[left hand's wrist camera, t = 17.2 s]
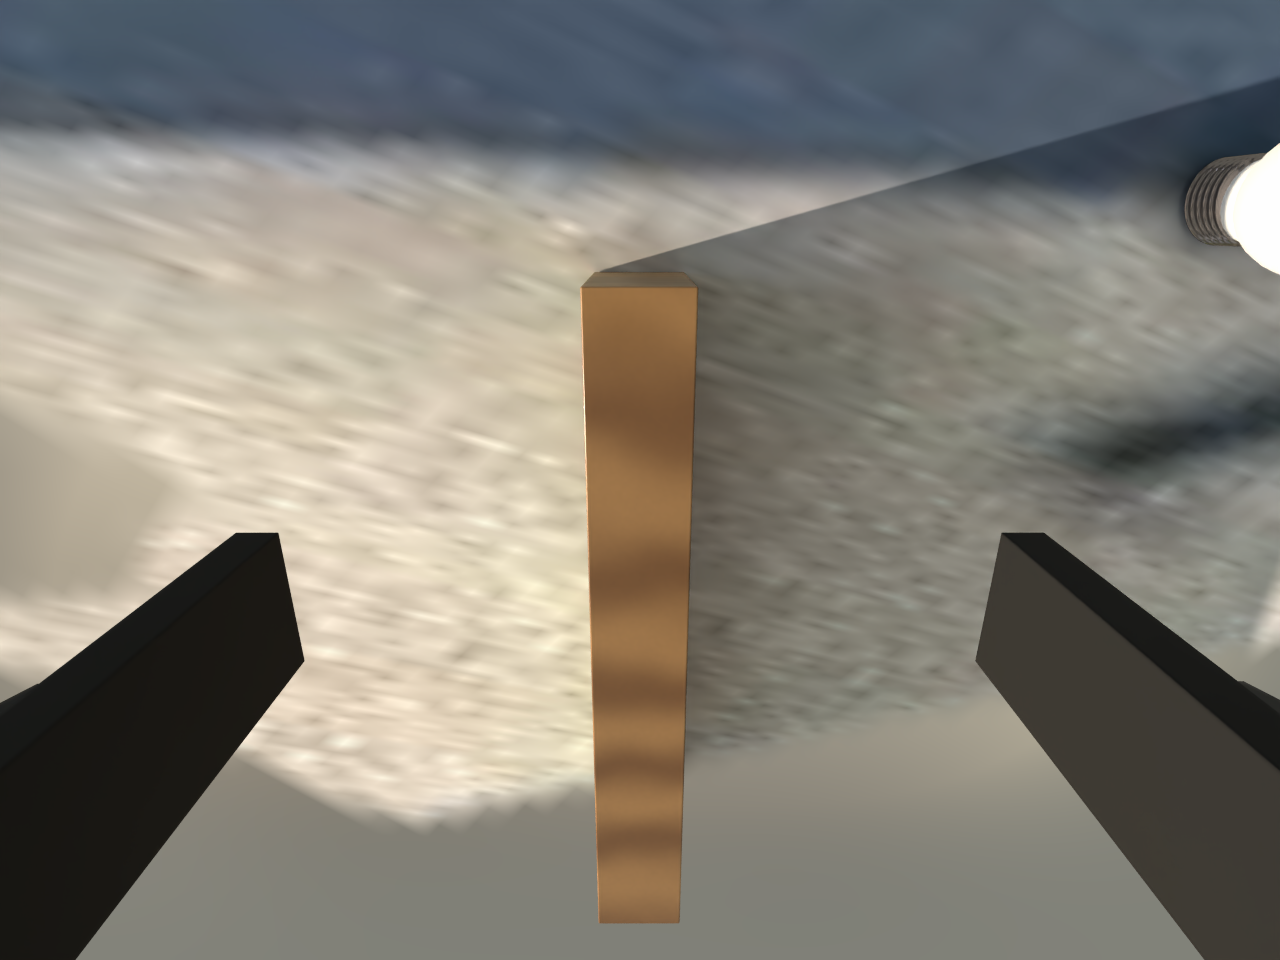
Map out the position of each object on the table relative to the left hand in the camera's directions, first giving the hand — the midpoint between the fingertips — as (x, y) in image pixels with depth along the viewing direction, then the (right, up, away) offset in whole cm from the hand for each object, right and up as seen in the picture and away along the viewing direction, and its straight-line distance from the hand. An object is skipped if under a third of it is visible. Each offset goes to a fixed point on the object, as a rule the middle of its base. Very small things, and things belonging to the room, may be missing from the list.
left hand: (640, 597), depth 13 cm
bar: (0, -4, +29) cm, 29 cm away
